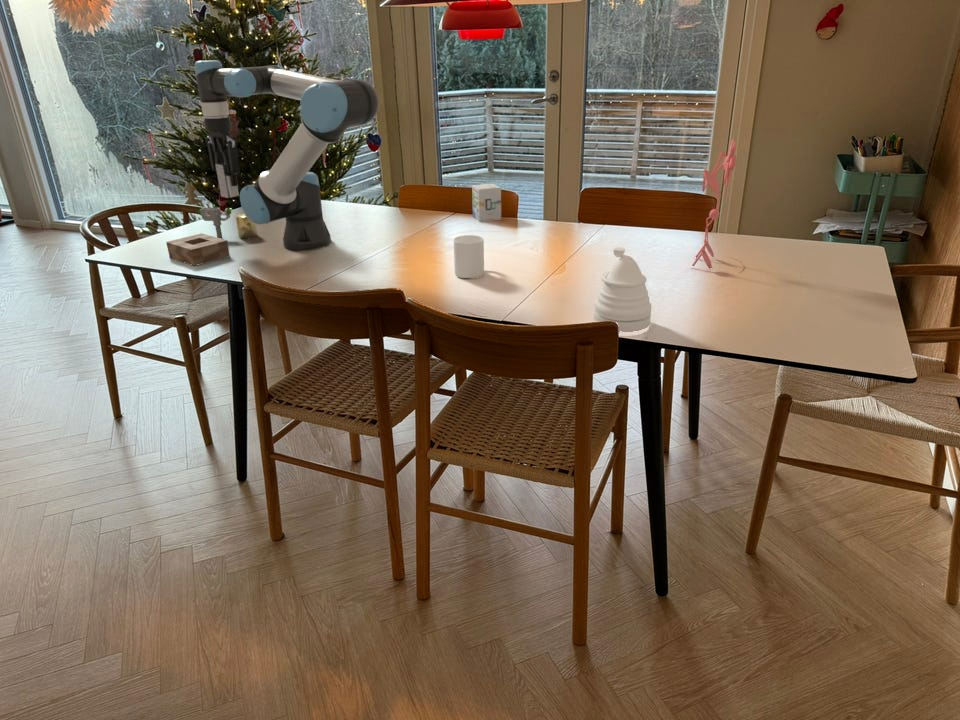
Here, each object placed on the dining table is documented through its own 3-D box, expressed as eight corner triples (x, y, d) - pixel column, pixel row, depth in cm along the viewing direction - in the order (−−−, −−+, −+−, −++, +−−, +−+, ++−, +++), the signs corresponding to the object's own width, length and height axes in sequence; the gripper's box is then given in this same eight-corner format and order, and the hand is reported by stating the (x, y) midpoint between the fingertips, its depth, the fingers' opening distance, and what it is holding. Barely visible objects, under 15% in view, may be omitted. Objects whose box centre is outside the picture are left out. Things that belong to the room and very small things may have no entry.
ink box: (472, 216, 256) (471, 184, 250) (494, 214, 258) (494, 182, 253) (479, 222, 248) (478, 189, 243) (501, 219, 250) (501, 187, 245)
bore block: (229, 256, 215) (226, 240, 213) (194, 266, 207) (191, 249, 205) (204, 248, 223) (201, 233, 221) (169, 257, 215) (166, 241, 213)
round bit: (261, 235, 236) (257, 215, 233) (245, 239, 232) (242, 219, 229) (250, 233, 240) (247, 212, 237) (235, 236, 236) (231, 216, 232)
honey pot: (583, 327, 161) (586, 252, 153) (610, 311, 170) (615, 239, 162) (633, 341, 153) (640, 262, 146) (659, 323, 163) (666, 248, 155)
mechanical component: (233, 239, 233) (228, 209, 229) (203, 239, 233) (197, 209, 229) (236, 236, 236) (231, 207, 231) (206, 237, 236) (200, 207, 232)
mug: (470, 265, 204) (469, 230, 200) (495, 268, 200) (494, 233, 196) (449, 277, 194) (448, 241, 190) (475, 281, 191) (474, 244, 186)
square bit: (239, 195, 218) (234, 163, 214) (228, 198, 215) (222, 165, 211) (232, 194, 221) (226, 161, 216) (221, 196, 218) (215, 163, 213)
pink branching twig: (683, 276, 191) (702, 145, 176) (694, 251, 213) (712, 131, 197) (742, 284, 186) (767, 149, 171) (747, 257, 208) (770, 135, 192)
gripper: (244, 117, 205) (256, 196, 216) (212, 113, 215) (225, 189, 225) (221, 119, 200) (235, 201, 210) (189, 116, 210) (204, 194, 220)
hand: (230, 195), depth 218 cm, fingers closed on square bit, 4 cm apart
